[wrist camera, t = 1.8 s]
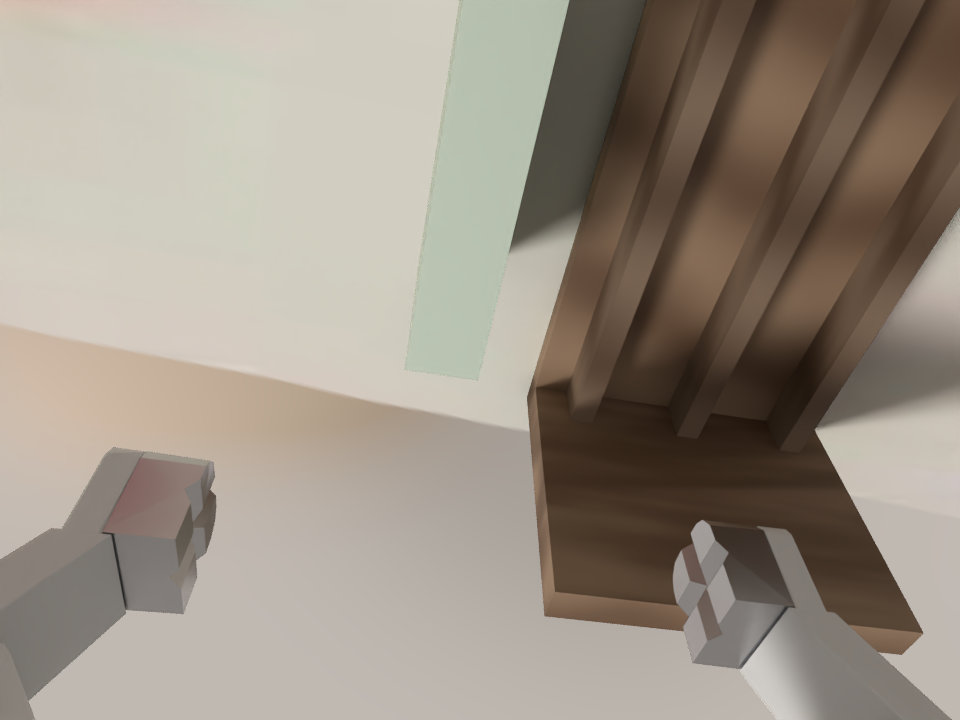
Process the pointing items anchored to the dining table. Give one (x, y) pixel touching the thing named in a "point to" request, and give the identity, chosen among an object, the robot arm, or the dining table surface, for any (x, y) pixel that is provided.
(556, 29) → the pale green rectangular block
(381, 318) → the dining table surface
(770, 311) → the wooden book rack
